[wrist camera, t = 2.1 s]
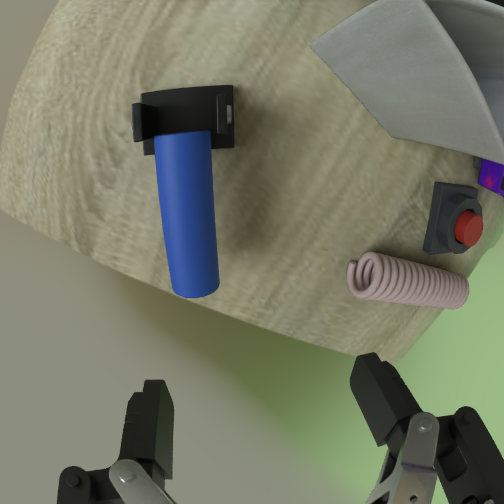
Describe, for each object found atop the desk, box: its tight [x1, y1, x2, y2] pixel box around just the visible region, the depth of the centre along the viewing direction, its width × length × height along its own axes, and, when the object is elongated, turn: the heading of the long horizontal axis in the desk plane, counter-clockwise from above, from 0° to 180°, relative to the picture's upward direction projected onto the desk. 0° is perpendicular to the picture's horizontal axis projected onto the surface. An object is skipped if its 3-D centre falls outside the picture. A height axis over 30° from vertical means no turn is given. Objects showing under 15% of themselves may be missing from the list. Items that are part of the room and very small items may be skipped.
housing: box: [423, 182, 483, 255], centre depth 25 cm, size 8×7×3 cm
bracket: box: [132, 85, 234, 155], centre depth 17 cm, size 5×7×6 cm
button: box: [454, 210, 483, 247], centre depth 23 cm, size 4×4×2 cm
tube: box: [154, 131, 220, 298], centre depth 19 cm, size 11×4×4 cm, turn 1°
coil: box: [347, 251, 469, 309], centre depth 27 cm, size 5×5×18 cm
